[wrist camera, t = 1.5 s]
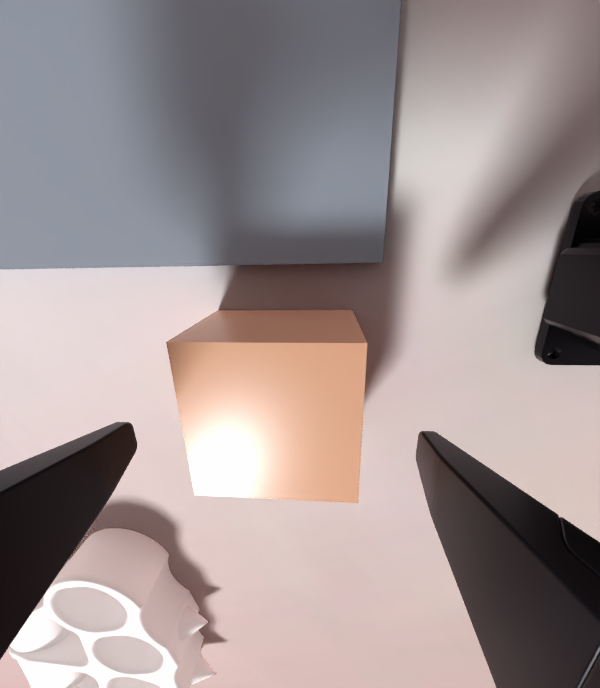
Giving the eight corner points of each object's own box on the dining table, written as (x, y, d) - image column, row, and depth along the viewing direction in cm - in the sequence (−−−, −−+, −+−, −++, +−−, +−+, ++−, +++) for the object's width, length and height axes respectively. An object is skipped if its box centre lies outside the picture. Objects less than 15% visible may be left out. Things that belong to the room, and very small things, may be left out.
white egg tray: (-3, 512, 19) (209, 529, 18) (66, 665, 25) (229, 685, 24) (-68, 565, 16) (185, 590, 15) (29, 726, 22) (215, 752, 21)
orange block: (352, 309, 12) (367, 343, 8) (347, 426, 14) (358, 503, 10) (217, 310, 13) (166, 342, 9) (231, 423, 15) (194, 494, 11)
